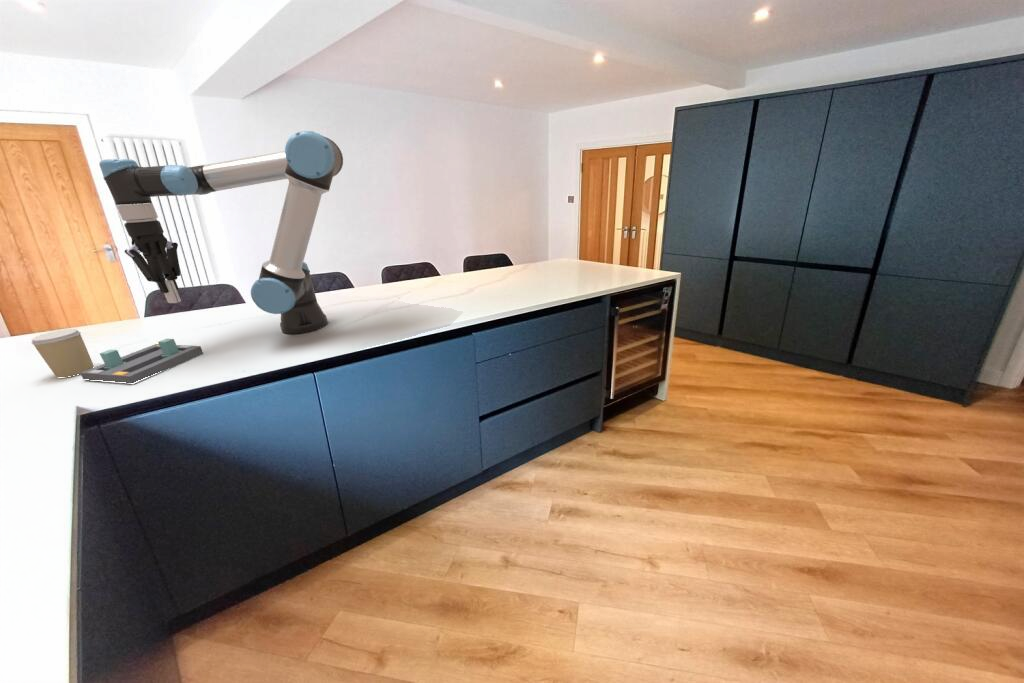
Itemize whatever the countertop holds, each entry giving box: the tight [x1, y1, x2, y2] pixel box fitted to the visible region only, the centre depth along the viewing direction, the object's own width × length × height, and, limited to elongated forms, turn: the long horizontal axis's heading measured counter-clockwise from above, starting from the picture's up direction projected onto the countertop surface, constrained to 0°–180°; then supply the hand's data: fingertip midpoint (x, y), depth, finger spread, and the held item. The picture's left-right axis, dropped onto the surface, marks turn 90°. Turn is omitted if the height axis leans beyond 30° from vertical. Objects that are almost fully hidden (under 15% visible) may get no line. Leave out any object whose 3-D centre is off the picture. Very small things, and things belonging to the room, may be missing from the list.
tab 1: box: [99, 349, 127, 371], centre depth 109 cm, size 3×4×5 cm
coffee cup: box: [31, 328, 95, 378], centre depth 111 cm, size 9×9×12 cm
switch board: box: [80, 343, 204, 383], centre depth 113 cm, size 18×20×3 cm
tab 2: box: [157, 338, 181, 359], centre depth 116 cm, size 3×4×5 cm
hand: (174, 302), depth 116 cm, fingers closed
